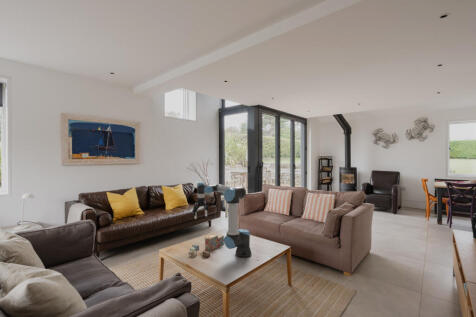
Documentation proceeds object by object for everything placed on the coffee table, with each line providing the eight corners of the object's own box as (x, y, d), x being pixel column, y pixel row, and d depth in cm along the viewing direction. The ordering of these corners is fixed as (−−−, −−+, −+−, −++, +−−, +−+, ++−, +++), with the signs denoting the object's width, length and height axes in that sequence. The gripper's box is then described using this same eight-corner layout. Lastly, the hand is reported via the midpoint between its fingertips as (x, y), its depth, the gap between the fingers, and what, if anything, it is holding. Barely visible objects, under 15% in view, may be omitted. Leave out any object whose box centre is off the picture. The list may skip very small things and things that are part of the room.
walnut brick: (209, 256, 214) (209, 252, 214) (206, 257, 212) (206, 253, 211) (205, 254, 218) (205, 250, 218) (202, 255, 216) (202, 251, 216)
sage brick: (195, 253, 222) (195, 248, 222) (192, 253, 220) (192, 249, 220) (193, 250, 227) (193, 246, 227) (190, 251, 225) (190, 247, 225)
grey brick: (199, 249, 230) (199, 245, 230) (196, 250, 227) (196, 246, 227) (194, 248, 234) (194, 244, 234) (192, 249, 231) (192, 245, 231)
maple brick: (197, 255, 216) (197, 251, 216) (195, 257, 213) (195, 252, 213) (191, 254, 218) (191, 250, 218) (189, 256, 215) (189, 251, 215)
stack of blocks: (219, 243, 247) (219, 231, 246) (223, 244, 243) (223, 232, 243) (205, 249, 230) (204, 237, 229) (209, 251, 226) (209, 238, 226)
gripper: (208, 195, 254) (208, 214, 255) (188, 198, 237) (188, 219, 237) (212, 196, 249) (212, 215, 249) (192, 199, 231) (192, 220, 232)
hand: (200, 217), depth 243 cm, fingers open, 13 cm apart
